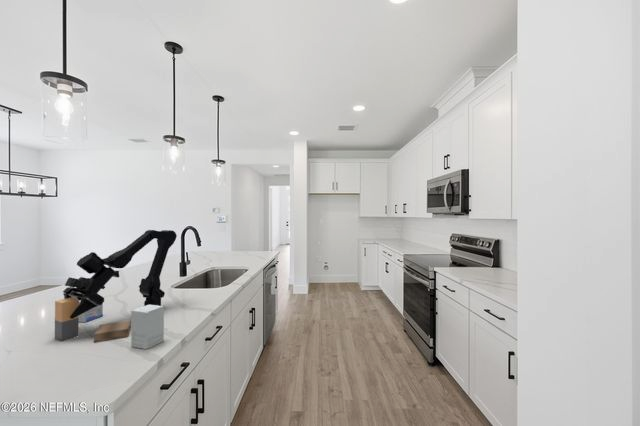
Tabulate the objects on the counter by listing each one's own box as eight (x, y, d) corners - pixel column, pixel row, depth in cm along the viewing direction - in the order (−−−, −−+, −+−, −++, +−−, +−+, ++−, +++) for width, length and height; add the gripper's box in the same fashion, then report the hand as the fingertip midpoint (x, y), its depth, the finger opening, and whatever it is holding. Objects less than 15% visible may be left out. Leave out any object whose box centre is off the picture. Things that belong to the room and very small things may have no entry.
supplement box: (164, 340, 102) (164, 305, 102) (145, 349, 95) (146, 312, 95) (149, 337, 104) (149, 303, 104) (130, 346, 97) (130, 310, 97)
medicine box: (85, 322, 119) (85, 302, 119) (76, 322, 120) (77, 301, 120) (103, 316, 127) (103, 297, 127) (94, 315, 127) (95, 296, 128)
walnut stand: (131, 327, 114) (131, 320, 114) (127, 336, 105) (127, 328, 105) (100, 332, 109) (100, 324, 109) (94, 342, 100) (94, 334, 100)
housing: (71, 333, 107) (71, 297, 108) (78, 336, 105) (78, 299, 105) (54, 339, 103) (55, 301, 103) (61, 341, 101) (62, 302, 101)
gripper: (69, 266, 113) (31, 301, 102) (95, 270, 105) (57, 309, 94) (92, 282, 120) (58, 316, 109) (118, 287, 112) (84, 324, 101)
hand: (64, 316), depth 103 cm, fingers open, 9 cm apart
